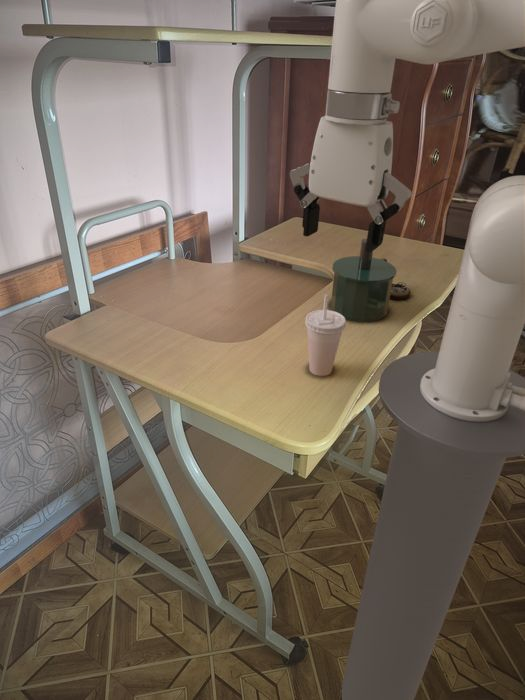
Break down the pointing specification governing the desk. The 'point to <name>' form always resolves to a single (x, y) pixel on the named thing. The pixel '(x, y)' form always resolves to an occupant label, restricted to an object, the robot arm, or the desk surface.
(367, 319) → the pot
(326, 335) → the smoothie
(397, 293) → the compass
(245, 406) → the desk surface
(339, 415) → the desk surface
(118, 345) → the desk surface
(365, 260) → the lid
